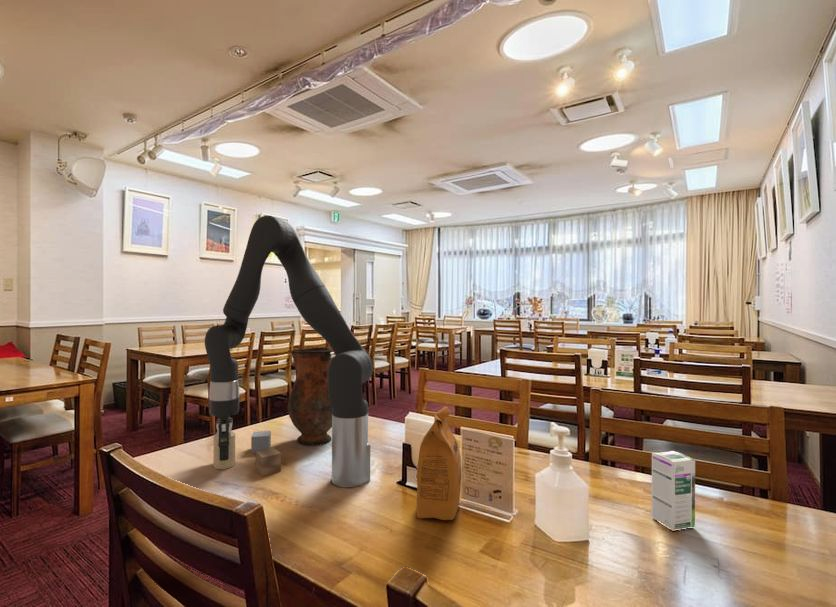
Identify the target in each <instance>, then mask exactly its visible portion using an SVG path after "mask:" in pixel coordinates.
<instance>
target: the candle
mask: <svg viewBox="0 0 836 607" xmlns="http://www.w3.org/2000/svg"><path fill="white" fill-rule="evenodd" d="M226 441H227V438H223V439H221V442H226ZM229 443H230V445H229V458H228V460H224V461H220V447H219V446H218V444H219V439H218V438H217V432H216V433H215V434H214V435H213V468H214V469H215V470H226V469H229V468H233V467H234V466H235V465H236V432H235V431H233V430H231V437H230V438H229Z"/></svg>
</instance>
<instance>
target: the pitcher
mask: <svg viewBox="0 0 836 607" xmlns="http://www.w3.org/2000/svg"><path fill="white" fill-rule="evenodd" d="M332 351H333V350H332V348H330V347H329V348H328V347H312V348H311V347H310V348H303V349H292V350H290V354H291V355H292V360H293V364H294V369H295V380H294V383H293V386H292V389H291V392H290V394H289V396H288V397H289V399H288V403H287V411H288V417H289V419H290V420H291V422H292V425H293V426H294V427H295V428H296V429H297V431H299V433H300V435H299V436H298V437H297V438H296V442H297V443H299V444H300V445H303V444H305V445H304V446H321V445H320V444H322V445H325V444H328V443H330V441H331V442H332V435H331V436H330V434H328V433H329V431H330V430H332V408H331V405H330V402H329V390H328V369H329V365H330V362H331V360H332V356H336V355H335V353H334V352H333V353H331V352H332ZM327 442H328V443H327Z"/></svg>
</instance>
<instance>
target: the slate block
mask: <svg viewBox="0 0 836 607" xmlns="http://www.w3.org/2000/svg"><path fill="white" fill-rule="evenodd" d="M271 439H272V430H258V431H253V433H252V434H251V438H250V442H251V444H250V445H251V451H250V452H251V454H256V452H258V451H262V450H267V449H271V446H272V440H271Z"/></svg>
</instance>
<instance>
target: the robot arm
mask: <svg viewBox="0 0 836 607" xmlns="http://www.w3.org/2000/svg"><path fill="white" fill-rule="evenodd" d="M271 253H273V254H274V255H275V256H276V258H277V259H278V261H279V262H280V263H281V266H283V268H284V270H285V272H286V275H287V279H288V288H289V293H290V297H291V299H292V302H293V303H294V305H295V307H296V309H297V310H298V312H299V314H300V315H301V318H302V319H303V320H304V322H306V323H307V324H308V326H310V327H311V328H312V329H313V330H314V331H315V332H316V333H317V334H318V335H320V337H322V338H323V339H324V341H326V343H327V344H328V345H329V347H330V349H331V350H332V351H333V353H335V355H334V357H332V358H331V359H330V365H329V369H328V390H329V402H330V405H331V408H332V427H331V482H332V484H334V485H335V486H337V487H341V488H354V487H359V486H361V485H364V484H365V483H368V482H371V443H370V442H369V403H368V401H367V400H366V399H364V398H363V384H364V383H366V382H367V381H369V380H370V379H371V377H372V375H373V371H374V366H373V362H372V359H371V357H370V356H369V354H368V352H367V351H366V350H365V348H364V347H363V345H362V344H361V342H360V341H359V340H358V339H357V338H356V336H355V334H354V333H353V332H352V331H351V329H350V327H349V325H348V323H347V322H346V320H345V319H344V317H343V315H342V313H341V311H340V310H339V308H338V306H337V305H336V303H335V301H334V299H333V296H332V295H331V293H330V292H329V291H328V288H327V287H326V285H325V284H324V282H323V280H322V279H321V278H320V275H319V274H318V272H317V271H316V269H315V268H314V266H313V265H312V263H311V261H310V259H309V258H308V256H307V254H306V252H305V250H304V248H303V245H302V243H301V241H300V239H299V236H298V234H297V232H296V230H295V228H294V227H293V226H292V224H290V223H289V222H287V221H285V220H282V219H280V218H278V217H275V216H272V215H268V214H267V215H263V216H260V217H259V218H257V220H255V221H254V223H253V226H252V228H251V229H250V232H249V236H248V240H247V243H246V248H245V250H244V253H243V257H242V261H241V265H240V268H239V270H238V274H237V277H236V280H235V282H234V284H233V285H232V289H231V291H230V293H229V295H228V296H227V299H226V301H225V303H224V306H223V308H222V312H223V314H224V315H225V320H224V323H223V324H217V325H213V326H210V327H209V328H208V330H207V332H206V333H205V335H204V349H205V351H206V356H207V360H208V362H209V365H210V368H209V369H210V372H209V374H210V376H209V377H210V379H209V380H210V382H209V384H210V385H209V398H208V399H209V400H208V401H209V412H208V413H209V415H210V416H212V417H219V418H218V419H216V430H217V431H216V433H217V438H218V439H219V444H218V446H219V447H220V461H224V460H228V458H229V445H230V443H229V438H230V437H231V431H232V428H233V417H230V416H234V415H236V414H237V413H239V411H240V383H239V363H238V360H237V359H235V358H232V356H231V351H230V350H231V349H235V348H237V347H238V346H239V345H240V344H241V343H242V342H243V340H244V337H245V335H246V331H247V329H248V325H249V318H250V316H251V314H252V312H253V309H254V308H255V305H256V303H257V301H258V299H259V297H260V291H261V282H262V272H263V269H264V265H265V263H266V261H267V259H268V257H269V256H270V254H271ZM223 438H227V441H226V442H221V439H223Z"/></svg>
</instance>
